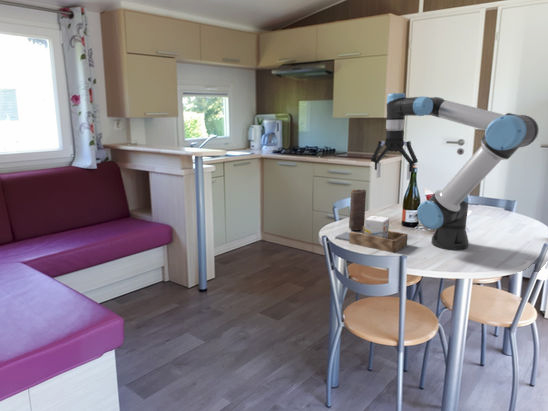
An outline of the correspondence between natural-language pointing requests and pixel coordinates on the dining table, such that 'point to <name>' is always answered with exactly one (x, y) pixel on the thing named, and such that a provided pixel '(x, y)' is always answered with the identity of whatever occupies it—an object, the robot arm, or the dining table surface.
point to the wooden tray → (380, 241)
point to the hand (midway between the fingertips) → (393, 178)
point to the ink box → (377, 226)
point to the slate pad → (344, 236)
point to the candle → (357, 209)
